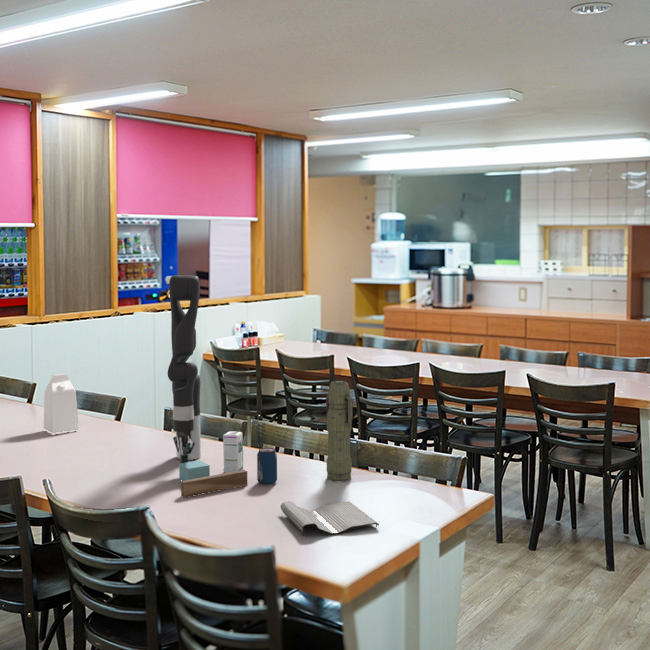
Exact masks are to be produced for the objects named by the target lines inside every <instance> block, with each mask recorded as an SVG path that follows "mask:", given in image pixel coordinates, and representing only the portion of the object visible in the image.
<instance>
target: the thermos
mask: <svg viewBox="0 0 650 650" xmlns="http://www.w3.org/2000/svg"><path fill="white" fill-rule="evenodd" d="M350 389H351V388H350V386H349V383H348V382H347V381H346V380H338V379H337V380H333V381H331V382H330V384H329V388H328V393H327V394H326V397H325V404H326V405H325V406H326V409H325V410H326V411H325V412H326V416H325V419H326V431H327V437H328V438H327V439H328V440H327V453H328V454H327V455H328V456H327V458H326V475H327V476H326V479H327V480H329V481H330V480H331V482H336V481H342V482H347V481H346V480H348V481H350V480H351V479H352V467H353V466H352V465H353V462H352V458H351V432H352V426H353V418H354V417H353V415H354V413H353V407H354V406H353V405H354V404H353V398H352V396H351V394H350V393H351V390H350ZM349 479H350V480H349Z"/></svg>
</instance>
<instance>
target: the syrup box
mask: <svg viewBox="0 0 650 650" xmlns="http://www.w3.org/2000/svg"><path fill="white" fill-rule="evenodd" d="M222 438H223V439H222V441H223V473H229V472H234V471H239V470H244V450H243V449H244V446H243V443H244V441H243V439H244V438H243V432H242V431H234V430H233V431H227V432H226V433H224V434H223V435H222Z"/></svg>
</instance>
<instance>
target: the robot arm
mask: <svg viewBox="0 0 650 650" xmlns="http://www.w3.org/2000/svg"><path fill="white" fill-rule="evenodd" d="M200 282H201V281H200V278H199V276H197V275H189V274H187V275H186V274H184V275H183V274H181V275H180V274H174V275H171V277H170V279H169V282H168V292H169V302H170V315H171V327H170V329H171V333H170V335H171V336H170V337H171V352H172V353H171V355H172V356H171V360H170V362H169V365H168V368H167V377H168V379H169V381H170V382H171V390H172V397H173V398H172V403H173V404H172V405H173V406H172V407H173V408H172V431H173V432H176V435H175V436H172V439H173V442H174V445H175V449H176V459H177V460H180V463H186V462H189V461H194V460H193V459H195V460H197V458H198V459H200V458H201V456H202V455H201V447H202V445H201V443H202V441H201V402H200V401H201V377H200V375H199V374H198V373H199V369H198V366H197V364H196V363H195V362H189V361H188V360H189V358H190V357H191V356H193V354H194V351H195V349H196V347H197V331H196V328H195V327H196V323H197V316H198V309H199V302H200V294H201V283H200ZM180 301H190V302H189V307H188V309H187V311H186V313H185V312H184V310H183V308H182V305H181V302H180ZM187 361H188V362H187ZM180 463H179V464H180Z"/></svg>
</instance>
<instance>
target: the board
mask: <svg viewBox="0 0 650 650" xmlns="http://www.w3.org/2000/svg"><path fill="white" fill-rule="evenodd" d="M245 485H246V486H248V471H247V470H245V469H243V470H239V471H234V472H229V473H224V472H223V473H219V474H213V475H210V476H207V477H202V478H196V479H191V480H186V481H181V480H180V490H181V492H180V493H181V494H180V495H181V497H182V496H183V497H182V498H184V497H186V498H189V497H188V496H191V497H194V496H193V495H196V496H199V495H198V494H201V495H203V494H202V493H206V494H209V493H208V492H211V493H214V492H213V491H216V492H219V491H218V490H221V491H224V490H223V489H226V490H229V489H228V488H231V489H235V488H234V487H236V488H241V487H246V486H245ZM240 486H241V487H240Z"/></svg>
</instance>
